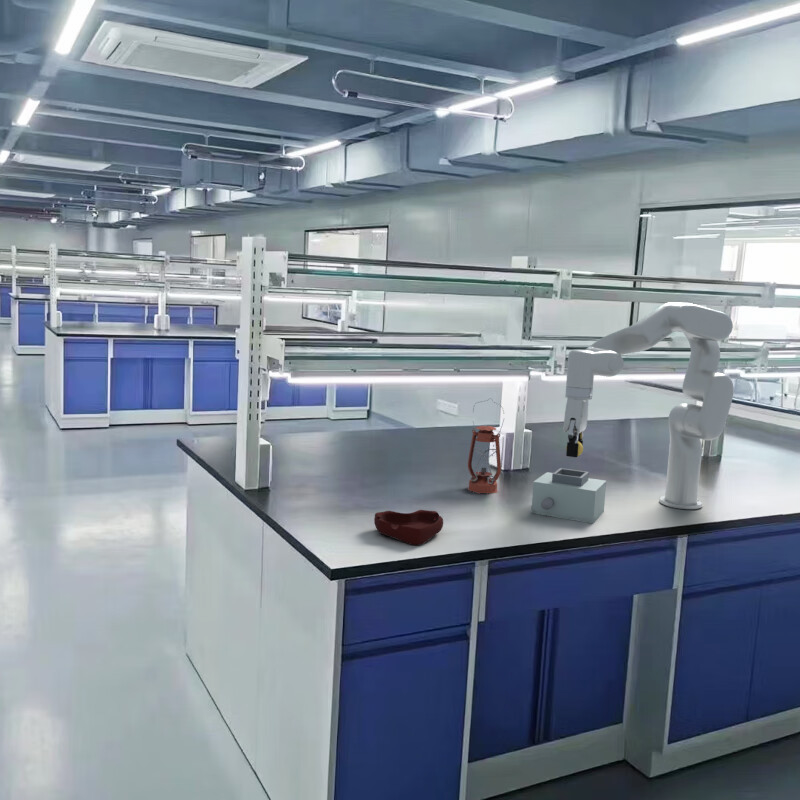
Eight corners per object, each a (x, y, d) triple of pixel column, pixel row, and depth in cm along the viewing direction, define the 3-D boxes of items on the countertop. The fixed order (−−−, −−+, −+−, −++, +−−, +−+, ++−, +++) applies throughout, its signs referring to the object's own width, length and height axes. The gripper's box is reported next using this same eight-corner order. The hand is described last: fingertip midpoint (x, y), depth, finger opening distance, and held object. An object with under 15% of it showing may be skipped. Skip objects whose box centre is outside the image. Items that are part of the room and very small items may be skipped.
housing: (544, 501, 240) (547, 464, 238) (603, 511, 232) (607, 472, 230) (528, 515, 225) (530, 475, 223) (590, 526, 217) (594, 484, 215)
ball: (567, 454, 230) (569, 438, 229) (584, 456, 228) (585, 440, 227) (563, 457, 225) (565, 440, 225) (580, 459, 223) (581, 442, 223)
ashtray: (383, 549, 192) (384, 529, 191) (371, 528, 208) (371, 510, 207) (452, 546, 196) (453, 527, 195) (435, 526, 212) (436, 508, 211)
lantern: (495, 486, 256) (500, 396, 251) (500, 495, 246) (506, 401, 241) (466, 485, 256) (470, 395, 251) (469, 494, 245) (474, 400, 241)
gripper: (572, 388, 233) (568, 448, 236) (558, 394, 218) (553, 458, 221) (598, 391, 230) (593, 451, 233) (585, 397, 215) (580, 462, 217)
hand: (574, 454), depth 227 cm, fingers closed on ball, 4 cm apart
